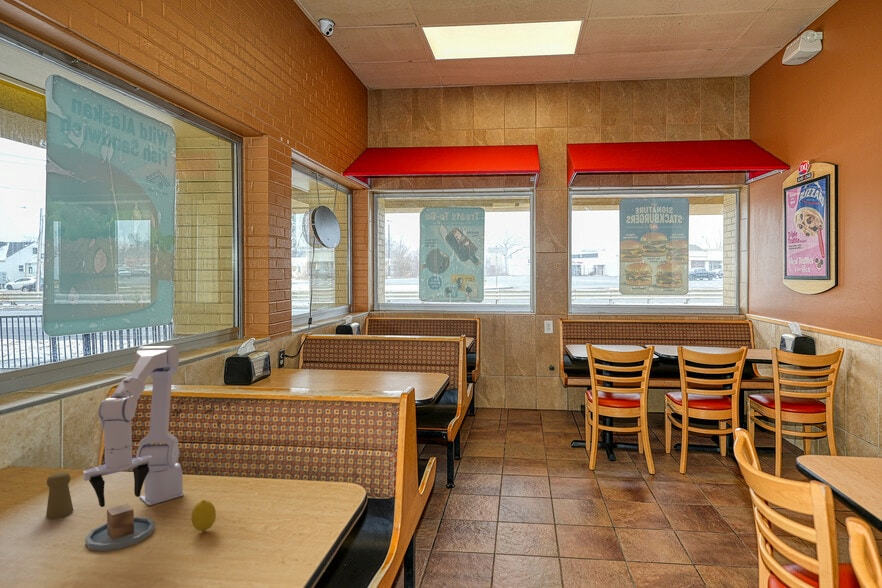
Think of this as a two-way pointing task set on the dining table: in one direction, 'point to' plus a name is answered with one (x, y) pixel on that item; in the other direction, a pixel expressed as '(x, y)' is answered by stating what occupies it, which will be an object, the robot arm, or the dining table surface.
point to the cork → (58, 495)
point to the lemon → (203, 515)
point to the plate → (104, 542)
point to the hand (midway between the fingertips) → (120, 500)
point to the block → (120, 521)
